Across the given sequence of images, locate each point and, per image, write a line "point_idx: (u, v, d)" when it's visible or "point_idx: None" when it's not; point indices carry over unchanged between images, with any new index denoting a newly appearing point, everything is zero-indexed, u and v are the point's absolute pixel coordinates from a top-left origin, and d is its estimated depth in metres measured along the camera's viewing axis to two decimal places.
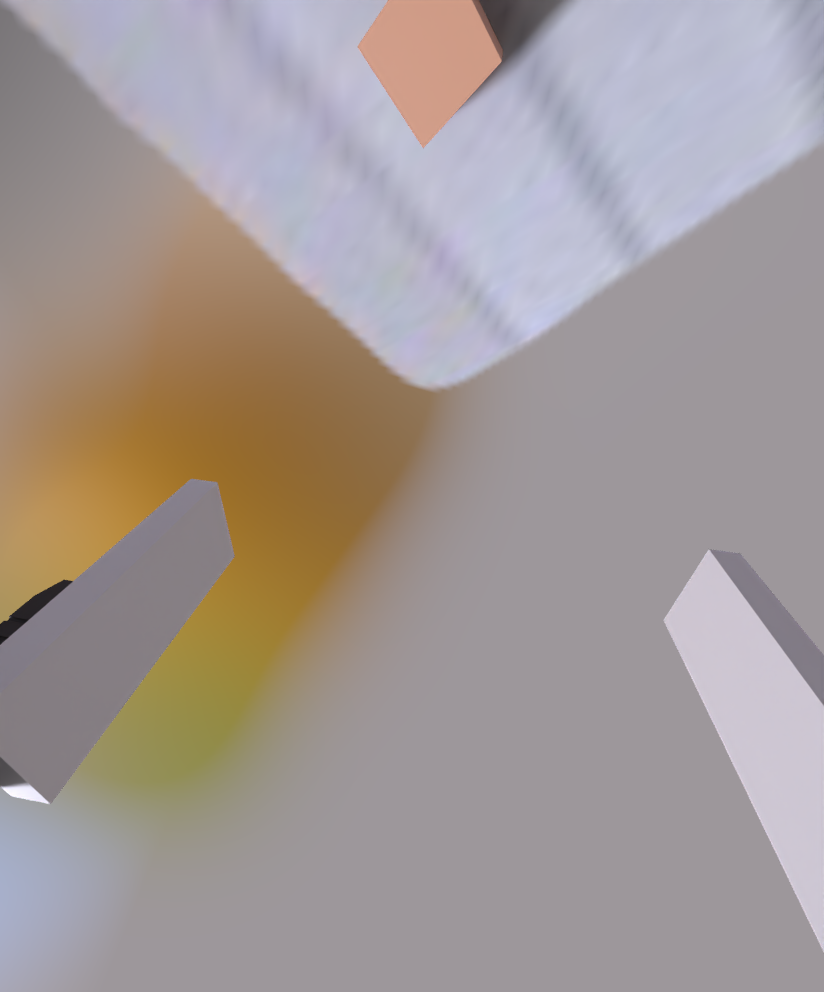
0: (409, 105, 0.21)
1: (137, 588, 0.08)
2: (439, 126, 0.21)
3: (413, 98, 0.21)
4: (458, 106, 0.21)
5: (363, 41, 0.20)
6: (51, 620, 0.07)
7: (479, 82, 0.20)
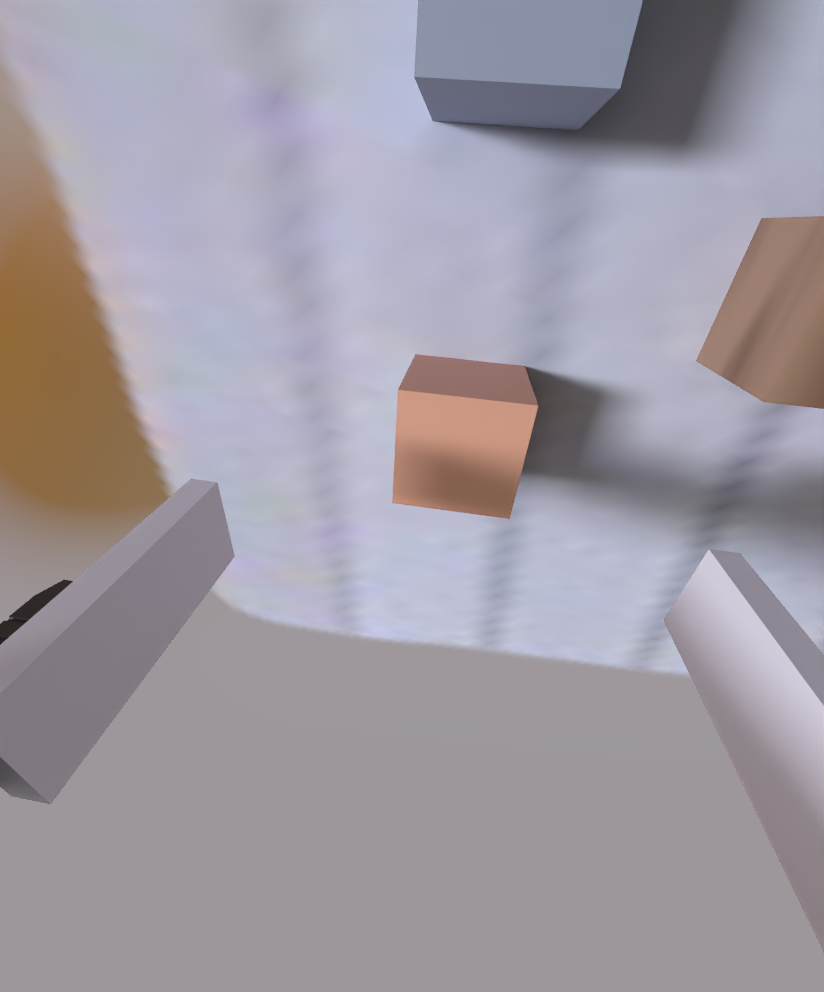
0: (408, 469, 0.16)
1: (137, 588, 0.08)
2: (421, 504, 0.17)
3: (416, 468, 0.16)
4: (450, 509, 0.17)
5: (407, 393, 0.15)
6: (51, 620, 0.07)
7: (481, 512, 0.17)
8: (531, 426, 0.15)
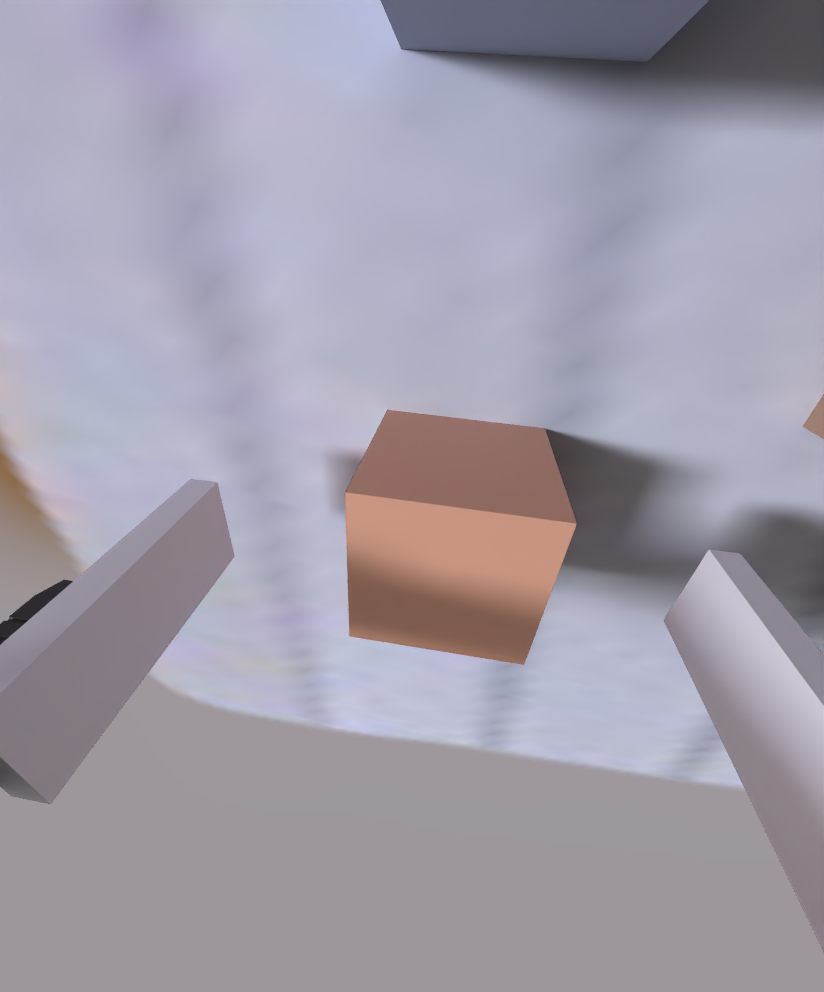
0: (369, 597, 0.11)
1: (137, 588, 0.08)
2: (392, 640, 0.11)
3: (381, 597, 0.11)
4: (434, 648, 0.11)
5: (360, 497, 0.09)
6: (51, 620, 0.07)
7: (481, 654, 0.11)
8: (563, 551, 0.09)
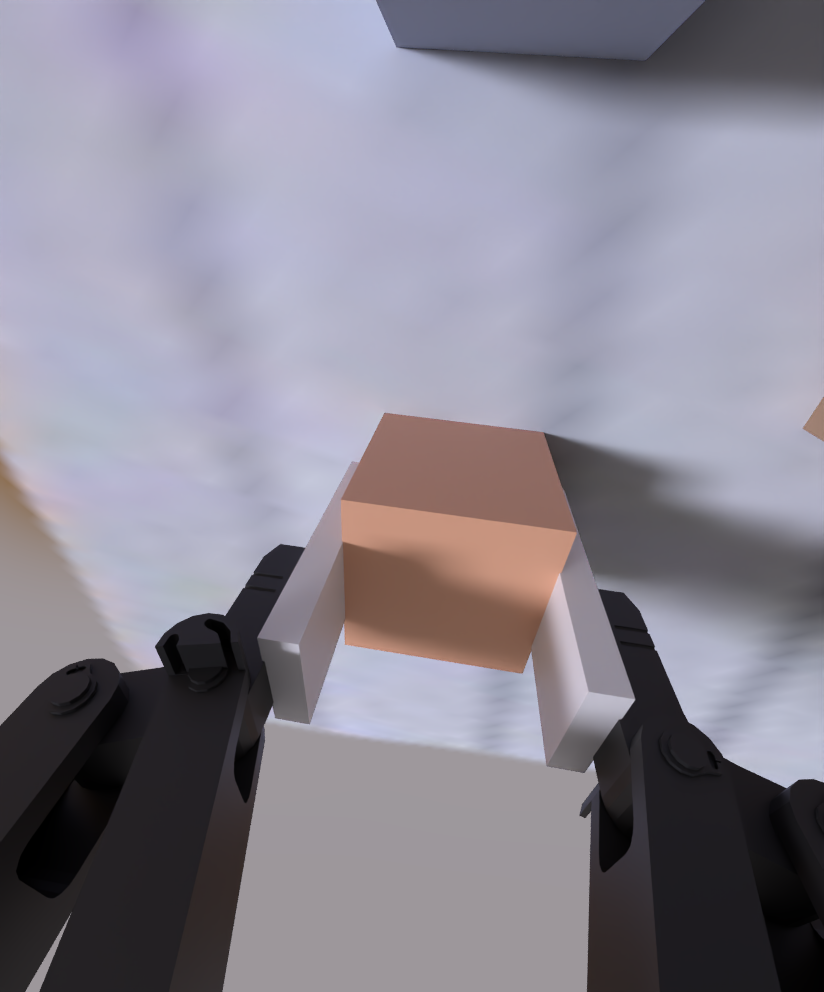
0: (365, 605, 0.10)
1: None
2: (388, 649, 0.11)
3: (377, 605, 0.10)
4: (432, 656, 0.11)
5: (356, 504, 0.09)
6: (311, 571, 0.08)
7: (479, 663, 0.11)
8: (563, 560, 0.09)
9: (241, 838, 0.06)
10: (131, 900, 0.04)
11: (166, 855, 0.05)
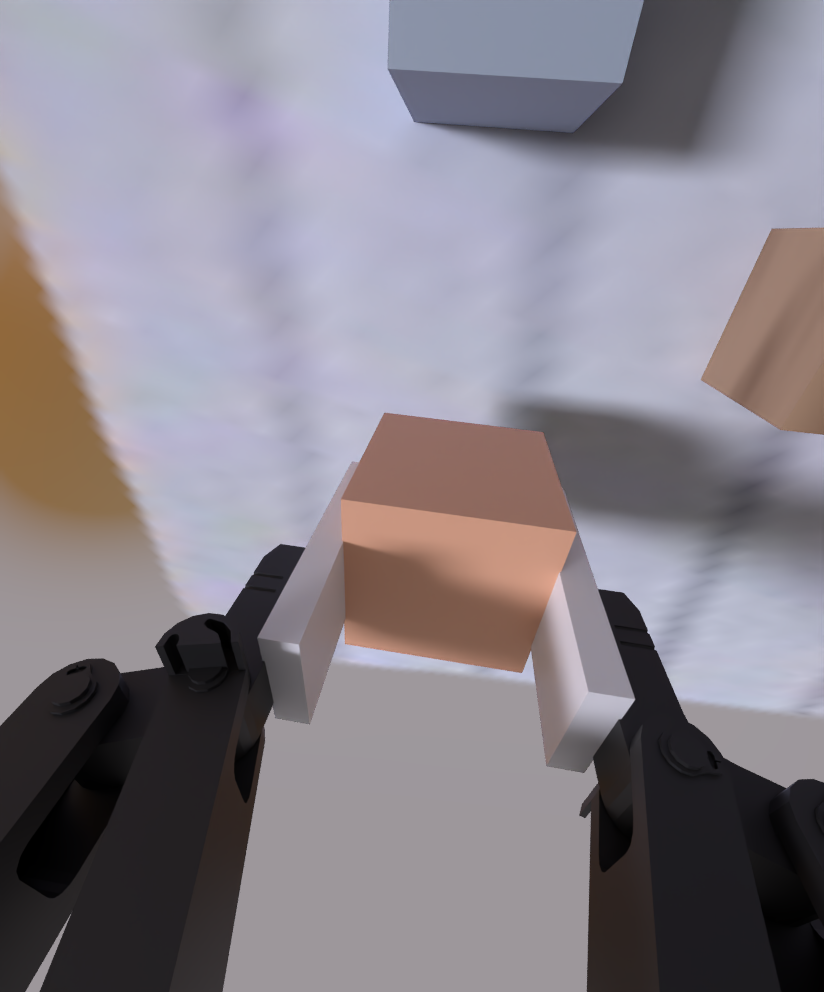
0: (365, 604, 0.10)
1: None
2: (388, 648, 0.11)
3: (377, 604, 0.10)
4: (431, 656, 0.11)
5: (356, 504, 0.09)
6: (311, 571, 0.08)
7: (478, 663, 0.11)
8: (562, 559, 0.09)
9: (241, 838, 0.06)
10: (131, 900, 0.04)
11: (166, 855, 0.05)
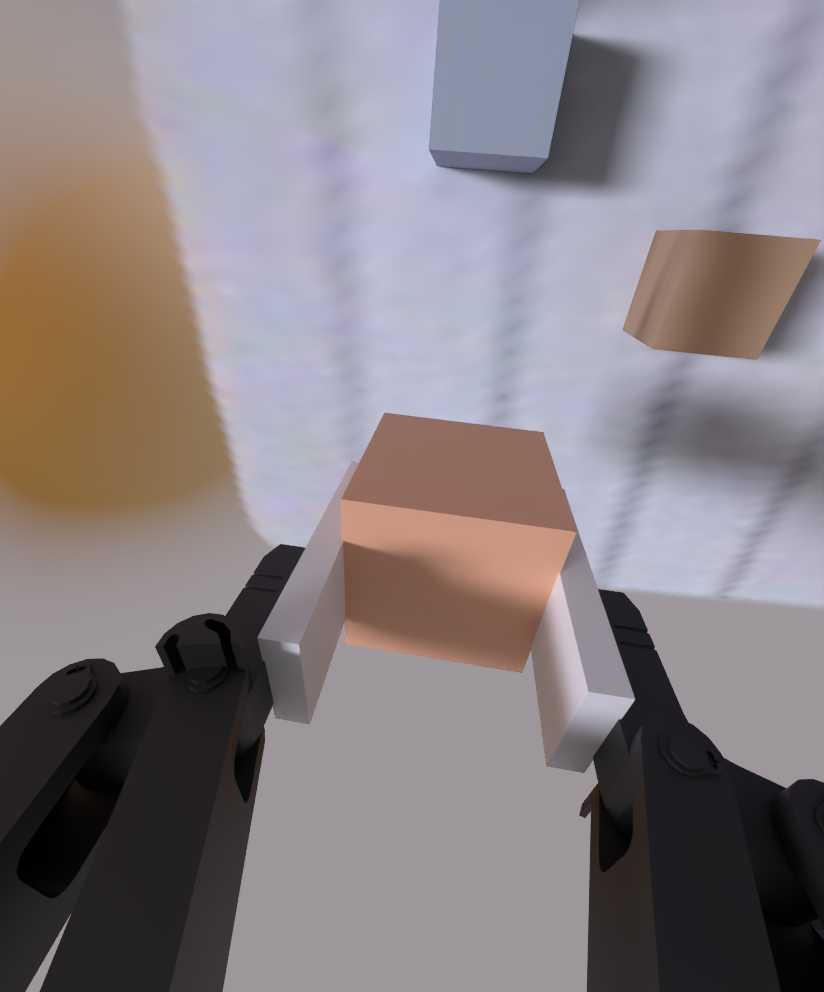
0: (365, 604, 0.10)
1: None
2: (388, 648, 0.11)
3: (377, 604, 0.10)
4: (431, 656, 0.11)
5: (356, 504, 0.09)
6: (311, 571, 0.08)
7: (478, 662, 0.11)
8: (562, 559, 0.09)
9: (241, 838, 0.06)
10: (131, 900, 0.04)
11: (166, 855, 0.05)
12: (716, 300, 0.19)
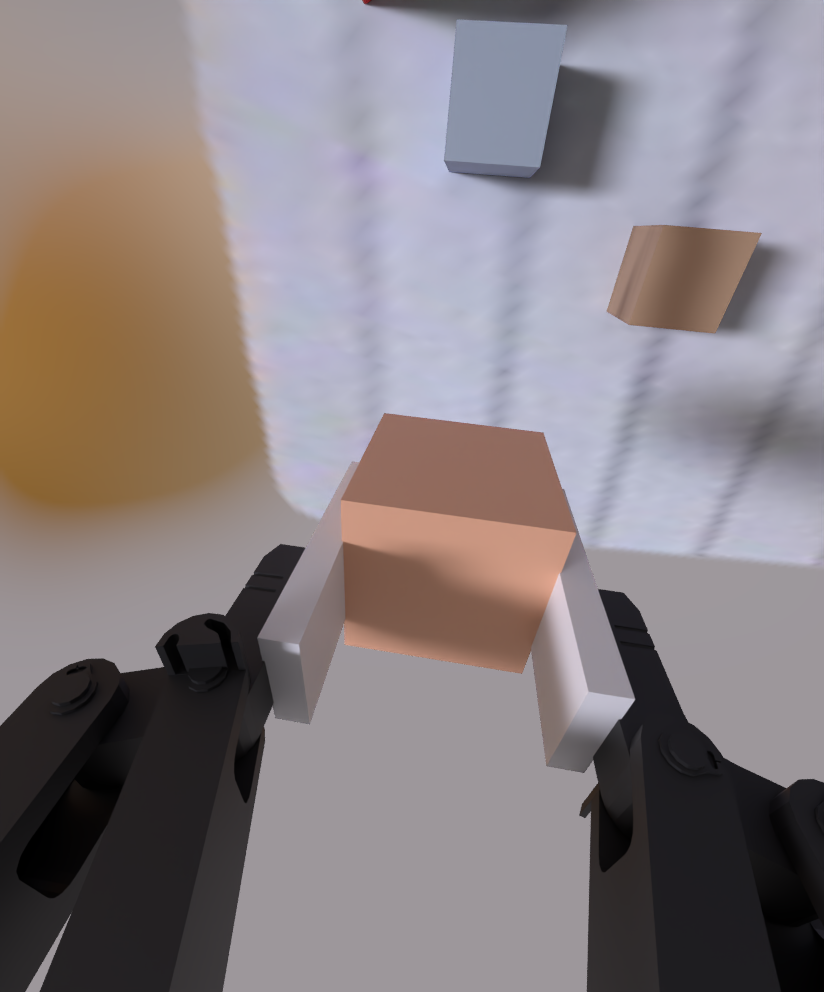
0: (364, 605, 0.10)
1: None
2: (388, 649, 0.11)
3: (377, 605, 0.10)
4: (431, 656, 0.11)
5: (356, 505, 0.09)
6: (311, 571, 0.08)
7: (478, 663, 0.11)
8: (562, 560, 0.09)
9: (241, 838, 0.06)
10: (131, 900, 0.04)
11: (166, 855, 0.05)
12: (679, 283, 0.23)
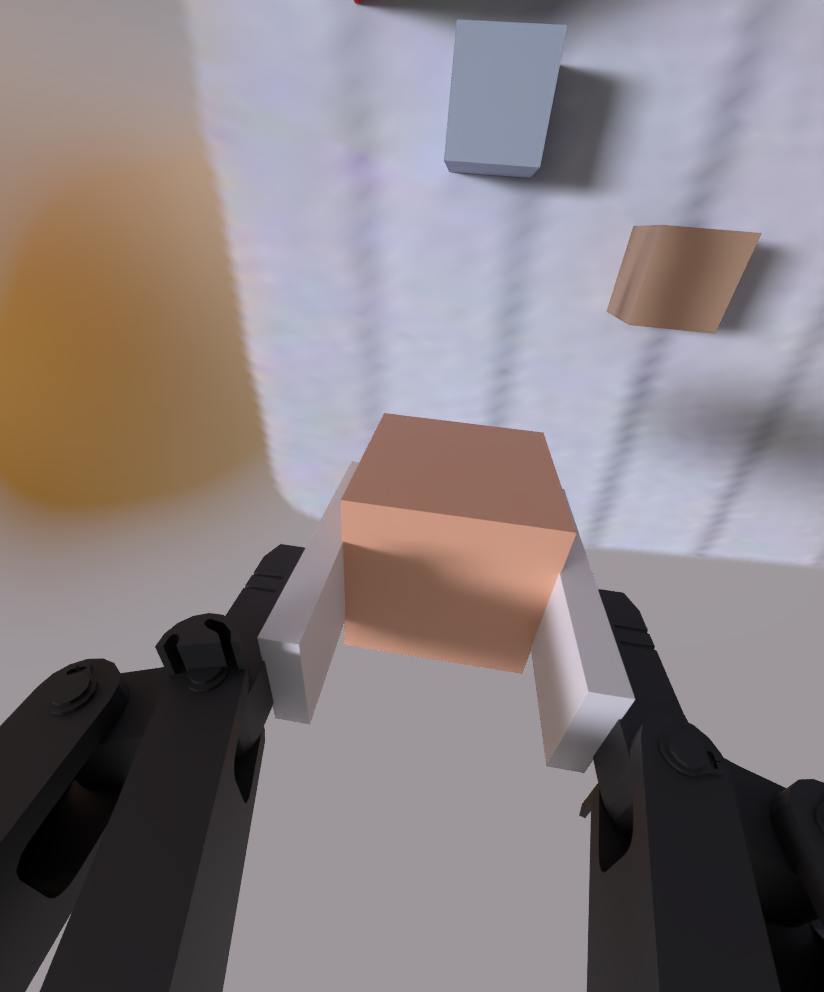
0: (364, 605, 0.10)
1: None
2: (388, 649, 0.11)
3: (377, 605, 0.10)
4: (431, 656, 0.11)
5: (356, 505, 0.09)
6: (311, 571, 0.08)
7: (478, 663, 0.11)
8: (562, 560, 0.09)
9: (241, 838, 0.06)
10: (131, 900, 0.04)
11: (166, 855, 0.05)
12: (679, 283, 0.23)
